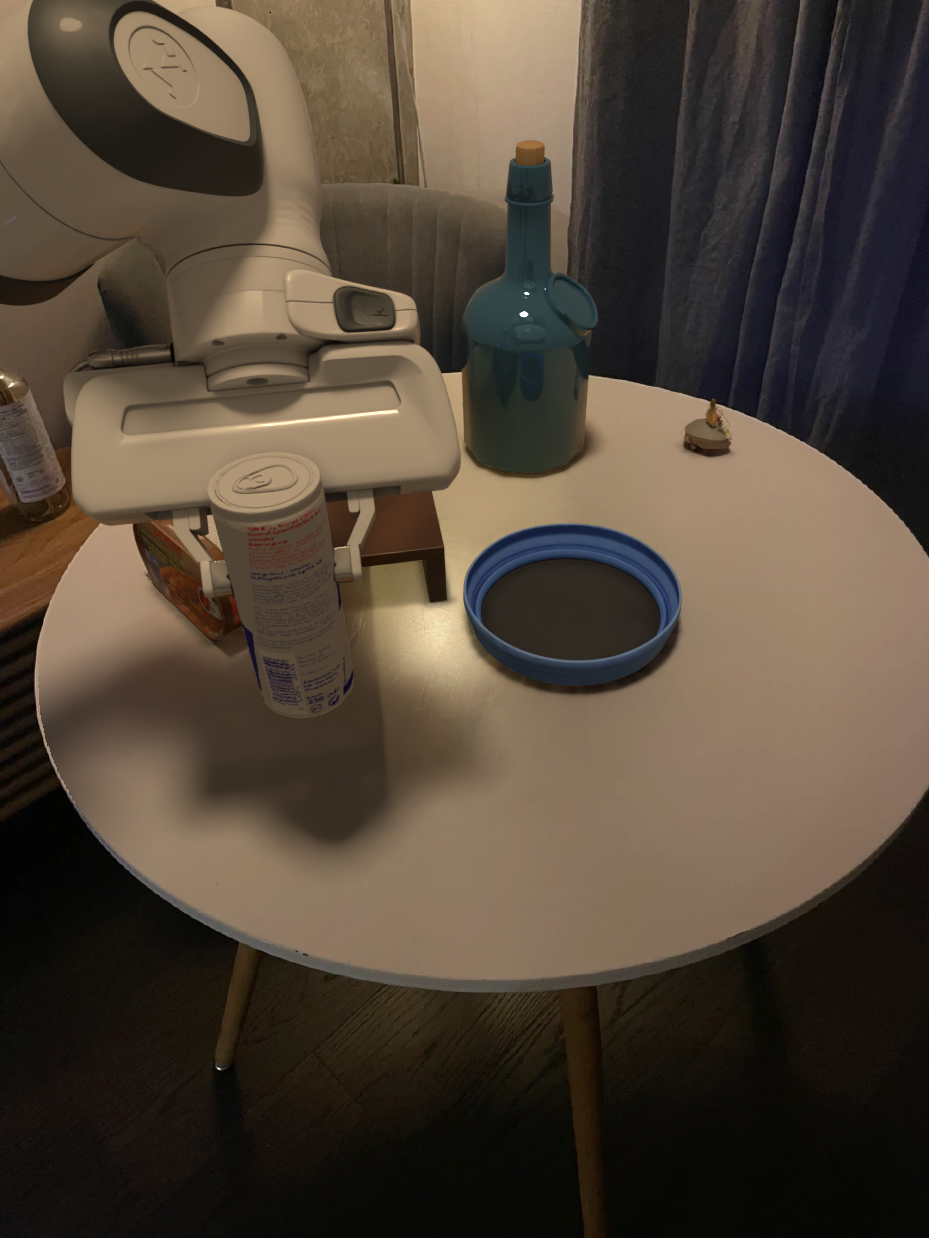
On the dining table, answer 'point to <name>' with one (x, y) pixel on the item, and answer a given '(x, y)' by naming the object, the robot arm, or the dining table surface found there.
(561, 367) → the wine bottle
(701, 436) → the figurine
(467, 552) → the dining table surface
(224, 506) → the beverage can
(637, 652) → the bowl
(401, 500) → the shelf
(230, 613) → the tin
